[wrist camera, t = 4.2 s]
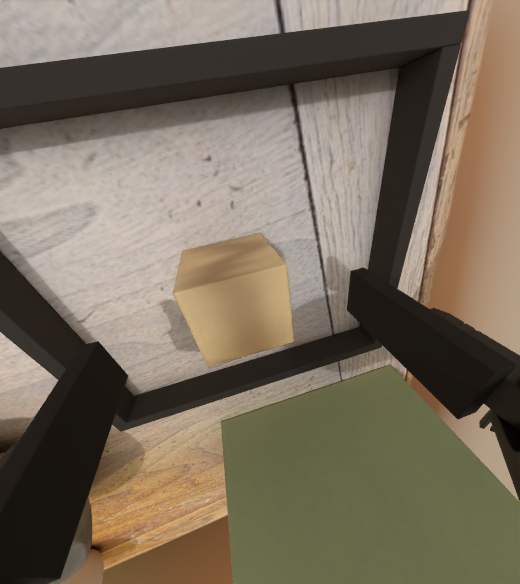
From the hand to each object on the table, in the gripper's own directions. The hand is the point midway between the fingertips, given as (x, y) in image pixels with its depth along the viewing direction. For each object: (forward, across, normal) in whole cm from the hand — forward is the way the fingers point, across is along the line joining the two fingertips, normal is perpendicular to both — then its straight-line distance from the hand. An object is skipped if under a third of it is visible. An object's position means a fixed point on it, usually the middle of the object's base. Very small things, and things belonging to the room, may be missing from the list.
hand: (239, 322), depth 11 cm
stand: (+5, +6, -27) cm, 28 cm away
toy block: (+6, 0, 0) cm, 6 cm away
